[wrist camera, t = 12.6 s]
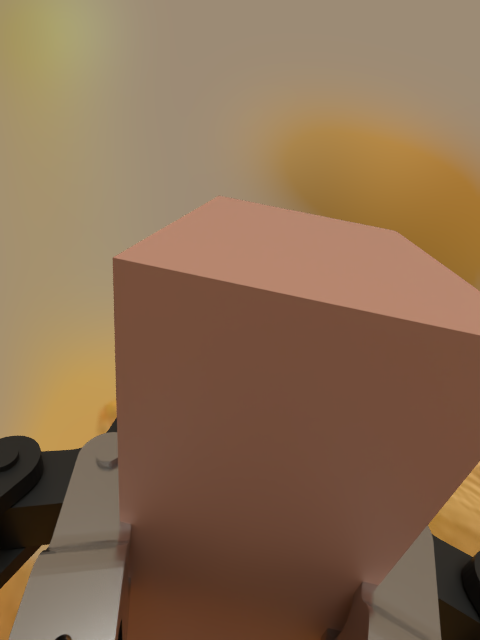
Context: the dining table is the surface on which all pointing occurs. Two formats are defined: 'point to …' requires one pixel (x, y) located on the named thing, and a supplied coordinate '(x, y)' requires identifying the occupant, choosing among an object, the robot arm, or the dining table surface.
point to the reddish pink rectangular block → (283, 416)
